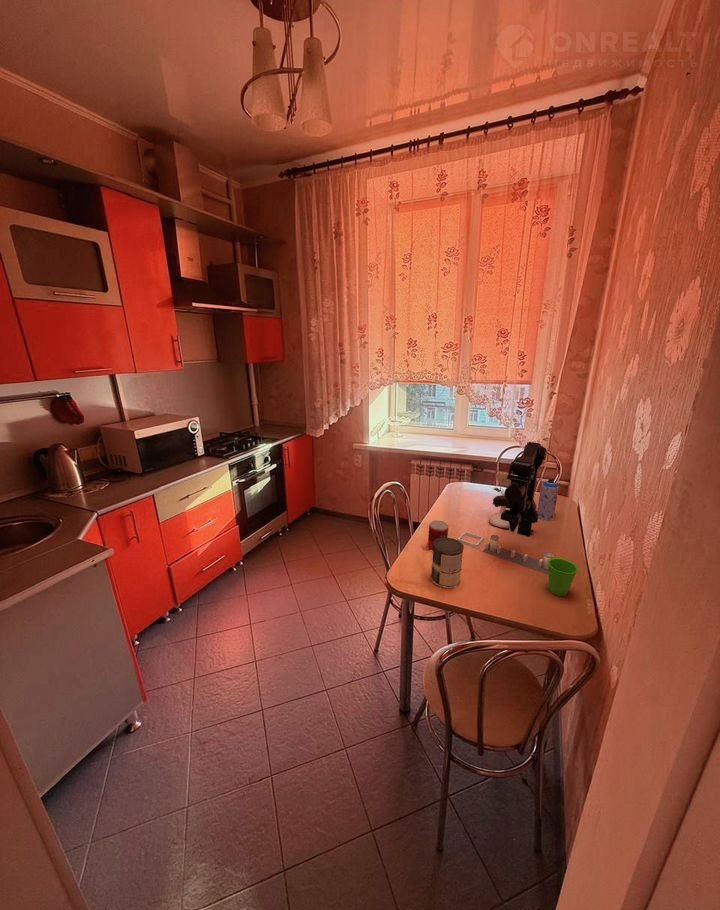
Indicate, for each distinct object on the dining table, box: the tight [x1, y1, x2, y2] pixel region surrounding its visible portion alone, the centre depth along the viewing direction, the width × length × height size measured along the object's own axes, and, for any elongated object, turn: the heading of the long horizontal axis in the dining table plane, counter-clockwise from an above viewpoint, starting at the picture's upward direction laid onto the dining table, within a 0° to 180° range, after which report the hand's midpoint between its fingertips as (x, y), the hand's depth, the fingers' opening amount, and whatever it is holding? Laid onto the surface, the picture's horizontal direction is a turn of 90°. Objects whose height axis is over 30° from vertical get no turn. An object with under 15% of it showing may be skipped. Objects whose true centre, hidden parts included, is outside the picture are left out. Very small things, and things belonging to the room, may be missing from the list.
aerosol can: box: [536, 478, 560, 522], centre depth 174 cm, size 8×8×20 cm
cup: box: [548, 557, 579, 597], centre depth 120 cm, size 9×9×11 cm
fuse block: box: [481, 541, 549, 576], centre depth 140 cm, size 8×26×3 cm, turn 51°
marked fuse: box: [508, 524, 519, 536], centre depth 138 cm, size 3×3×6 cm
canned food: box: [427, 519, 449, 551], centre depth 147 cm, size 8×8×11 cm
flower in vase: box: [488, 471, 511, 529], centre depth 166 cm, size 13×11×25 cm
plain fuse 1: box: [489, 534, 500, 552], centre depth 145 cm, size 3×3×6 cm
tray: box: [456, 530, 485, 549], centre depth 152 cm, size 9×9×2 cm
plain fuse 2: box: [542, 551, 555, 571], centre depth 133 cm, size 3×3×6 cm
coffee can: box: [430, 537, 465, 589], centre depth 126 cm, size 10×10×14 cm
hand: (513, 529), depth 139 cm, fingers closed on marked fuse, 3 cm apart
